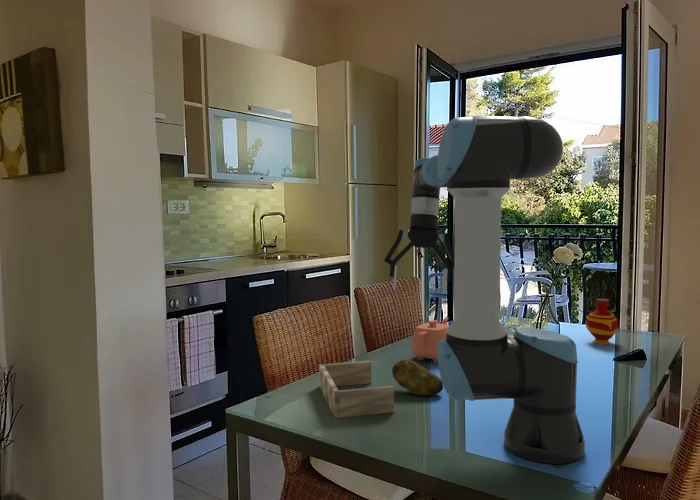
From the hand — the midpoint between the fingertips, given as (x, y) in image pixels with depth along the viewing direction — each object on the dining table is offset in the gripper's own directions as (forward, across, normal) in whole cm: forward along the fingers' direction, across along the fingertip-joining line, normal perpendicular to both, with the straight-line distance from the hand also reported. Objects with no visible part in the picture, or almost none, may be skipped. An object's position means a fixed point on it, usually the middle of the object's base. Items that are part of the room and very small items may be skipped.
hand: (419, 291), depth 149 cm
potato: (+26, -1, +7) cm, 27 cm away
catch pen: (+28, +15, +11) cm, 33 cm away
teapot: (+21, -8, -25) cm, 34 cm away
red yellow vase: (+13, -67, -44) cm, 81 cm away
